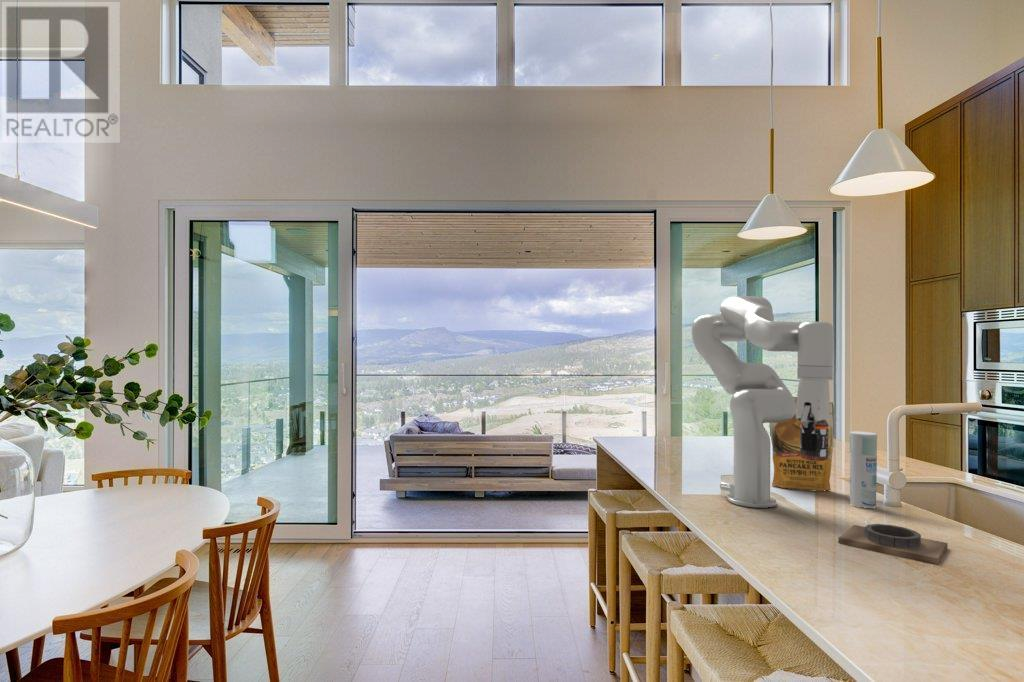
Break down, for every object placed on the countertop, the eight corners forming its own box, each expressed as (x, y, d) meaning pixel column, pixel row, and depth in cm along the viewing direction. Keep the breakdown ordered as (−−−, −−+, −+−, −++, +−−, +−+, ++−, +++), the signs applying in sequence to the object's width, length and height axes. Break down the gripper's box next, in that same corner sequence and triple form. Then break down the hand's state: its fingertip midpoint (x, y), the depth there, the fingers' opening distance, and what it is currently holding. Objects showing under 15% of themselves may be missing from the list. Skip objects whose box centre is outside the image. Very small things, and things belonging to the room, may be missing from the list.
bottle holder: (838, 542, 130) (838, 528, 130) (853, 529, 139) (853, 516, 139) (937, 564, 117) (937, 548, 117) (947, 548, 127) (947, 533, 127)
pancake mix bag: (765, 482, 187) (766, 395, 187) (832, 488, 180) (833, 397, 181) (767, 487, 180) (768, 397, 180) (837, 493, 174) (837, 399, 174)
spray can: (866, 510, 156) (866, 435, 157) (843, 503, 162) (844, 431, 162) (882, 507, 159) (882, 434, 159) (859, 501, 165) (859, 430, 165)
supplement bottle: (831, 462, 136) (832, 413, 136) (804, 460, 137) (804, 412, 137) (823, 457, 142) (824, 410, 142) (797, 455, 143) (797, 409, 143)
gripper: (809, 371, 148) (808, 442, 148) (785, 373, 136) (784, 451, 136) (842, 373, 143) (841, 446, 143) (820, 375, 131) (819, 455, 131)
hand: (814, 448), depth 139 cm, fingers closed on supplement bottle, 6 cm apart
